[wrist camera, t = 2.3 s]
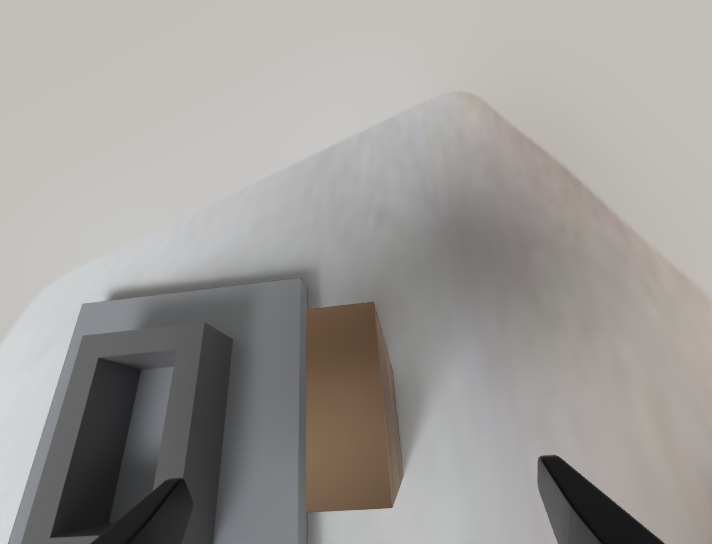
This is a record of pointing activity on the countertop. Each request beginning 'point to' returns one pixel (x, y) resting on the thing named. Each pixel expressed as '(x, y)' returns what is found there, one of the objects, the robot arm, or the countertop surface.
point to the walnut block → (349, 412)
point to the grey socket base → (178, 417)
